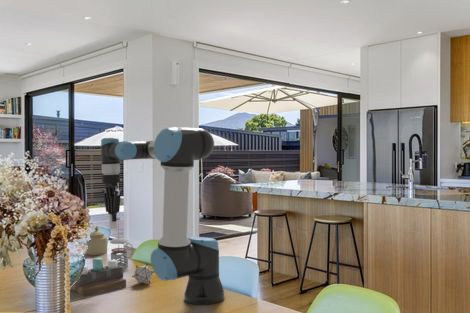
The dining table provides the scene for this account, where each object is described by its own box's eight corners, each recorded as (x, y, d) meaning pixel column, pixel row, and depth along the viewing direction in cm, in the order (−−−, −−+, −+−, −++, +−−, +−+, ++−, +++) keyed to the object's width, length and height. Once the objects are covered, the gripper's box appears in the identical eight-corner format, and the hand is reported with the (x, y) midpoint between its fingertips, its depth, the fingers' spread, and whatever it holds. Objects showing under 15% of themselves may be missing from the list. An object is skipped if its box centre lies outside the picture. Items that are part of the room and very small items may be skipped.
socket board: (127, 286, 194) (127, 268, 194) (82, 296, 182) (82, 277, 181) (112, 279, 205) (112, 262, 205) (69, 289, 192) (68, 271, 192)
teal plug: (104, 273, 193) (104, 258, 193) (95, 275, 190) (95, 260, 190) (100, 271, 196) (100, 257, 196) (91, 273, 193) (91, 258, 193)
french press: (107, 268, 224) (105, 217, 223) (131, 265, 229) (129, 215, 228) (110, 273, 215) (109, 219, 214) (135, 270, 220) (134, 217, 219)
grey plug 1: (89, 281, 189) (89, 266, 189) (80, 283, 186) (79, 268, 186) (85, 279, 192) (85, 264, 192) (76, 281, 189) (75, 266, 189)
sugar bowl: (79, 252, 261) (78, 225, 261) (97, 248, 269) (96, 223, 269) (93, 256, 251) (92, 228, 250) (111, 252, 259) (110, 225, 258)
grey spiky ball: (138, 293, 197) (123, 274, 197) (150, 280, 204) (136, 263, 204) (150, 285, 192) (135, 267, 192) (162, 273, 199) (147, 255, 199)
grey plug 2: (119, 274, 197) (118, 260, 197) (110, 276, 195) (110, 262, 194) (115, 273, 200) (114, 259, 200) (106, 274, 198) (105, 260, 197)
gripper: (126, 173, 197) (128, 229, 197) (112, 173, 206) (113, 226, 207) (110, 174, 192) (112, 231, 192) (96, 174, 201) (98, 228, 202)
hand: (113, 228), depth 199 cm, fingers closed
